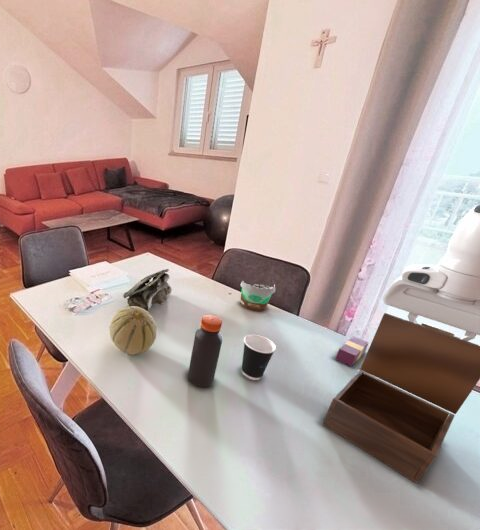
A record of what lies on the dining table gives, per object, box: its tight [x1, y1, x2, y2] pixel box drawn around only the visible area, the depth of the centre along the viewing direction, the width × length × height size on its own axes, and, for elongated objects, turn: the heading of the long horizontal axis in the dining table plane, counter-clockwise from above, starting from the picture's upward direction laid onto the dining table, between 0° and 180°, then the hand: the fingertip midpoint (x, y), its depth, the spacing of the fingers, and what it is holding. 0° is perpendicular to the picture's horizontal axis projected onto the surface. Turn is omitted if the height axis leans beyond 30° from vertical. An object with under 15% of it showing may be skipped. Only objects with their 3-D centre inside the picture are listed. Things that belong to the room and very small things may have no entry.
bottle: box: [187, 314, 223, 388], centre depth 84 cm, size 7×7×20 cm
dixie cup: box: [241, 334, 277, 381], centre depth 88 cm, size 8×8×11 cm
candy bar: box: [335, 336, 370, 367], centre depth 97 cm, size 4×11×4 cm, turn 124°
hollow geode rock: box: [122, 268, 173, 312], centre depth 124 cm, size 28×13×15 cm
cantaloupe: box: [109, 306, 157, 356], centre depth 98 cm, size 15×15×15 cm
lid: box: [359, 312, 480, 415], centre depth 71 cm, size 17×17×5 cm
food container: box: [239, 280, 276, 312], centre depth 121 cm, size 12×6×10 cm, turn 73°
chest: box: [321, 369, 456, 485], centre depth 71 cm, size 17×17×8 cm
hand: (432, 338), depth 69 cm, fingers closed on lid, 5 cm apart
